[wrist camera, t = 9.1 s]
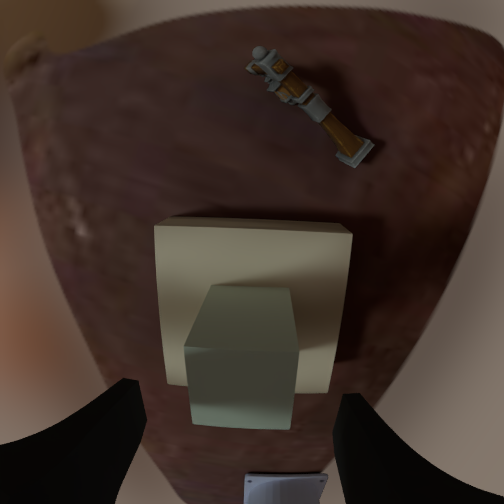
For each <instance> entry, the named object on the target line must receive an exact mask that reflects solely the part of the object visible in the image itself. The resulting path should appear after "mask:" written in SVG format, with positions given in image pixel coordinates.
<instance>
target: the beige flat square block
mask: <svg viewBox="0 0 504 504" xmlns="http://www.w3.org/2000/svg"><path fill="white" fill-rule="evenodd" d="M154 234H155V257H156V275H157V289H158V302H159V313H160V324H161V334H162V343H163V351H164V360H165V367H166V375H167V382H168V384H174V385H181V386H188V383H187V375H186V366H185V357H184V347H183V346H184V344H185V342H186V339H187V337H188V335H189V333H190V330H191V328H192V326H193V324H194V322H195V319H196V317H197V315H198V313H199V311H200V308H201V306H202V304H203V302H204V300H205V297H206V295H207V293H208V291H209V289H210V287H211V285H224V286H251V287H285V288H289V290H290V296H291V302H292V308H293V314H294V320H295V327H296V333H297V339H298V345H299V361H298V369H297V378H296V386H295V393H327V392H328V387H329V383H330V378H331V373H332V368H333V363H334V358H335V353H336V348H337V342H338V337H339V331H340V325H341V319H342V313H343V306H344V300H345V293H346V286H347V278H348V271H349V262H350V254H351V245H352V236H353V234H352V233H351V232H350V231H348V230H347V229H346V228H345V227H344V226H342V225H341V224H340V223H325V222H308V221H288V220H267V219H242V218H213V217H175V216H171V217H169V218H167V219H165V220H164V221H162V222H160V223H158V224H156V225H154Z"/></svg>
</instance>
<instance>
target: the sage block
mask: <svg viewBox="0 0 504 504" xmlns="http://www.w3.org/2000/svg"><path fill="white" fill-rule="evenodd" d="M183 347H184V357H185V366H186V375H187V383H188V392H189V399H190V407H191V414H192V421H193V424H199V425H208V426H219V427H233V428H251V429H290V424H291V417H292V409H293V402H294V394H295V386H296V378H297V369H298V361H299V345H298V339H297V333H296V327H295V320H294V314H293V308H292V302H291V296H290V290H289V288H285V287H251V286H224V285H211V287H210V289H209V291H208V293H207V295H206V297H205V300H204V302H203V304H202V306H201V308H200V311H199V313H198V315H197V317H196V319H195V322H194V324H193V326H192V328H191V330H190V333H189V335H188V337H187V339H186V342H185V344H184V346H183Z"/></svg>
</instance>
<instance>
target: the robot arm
mask: <svg viewBox="0 0 504 504" xmlns="http://www.w3.org/2000/svg"><path fill="white" fill-rule="evenodd" d="M146 422H147V417H146V413H145V409H144V404H143V400H142V395H141V391H140V386H139V381H138V380H132V379H126V378H123V379H121V380H120V381H118V382H117V383H116V384H114V385H113V386H112V387H110V388H109V389H108V390H106V391H105V392H104V393H102V394H101V395H100V396H98V397H97V398H96V399H94V400H93V401H91V402H90V403H89V404H87V405H86V406H84V407H83V408H81V409H80V410H78V411H77V412H75V413H73V414H72V415H70V416H69V417H67V418H66V419H64V420H62V421H61V422H59V423H57V424H55V425H53V426H51V427H49V428H47V429H45V430H43V431H41V432H38V433H36V434H33V435H31V436H28V437H25V438H23V439H20V440H17V441H14V442H10V443H6V444H2V445H0V504H115V501H116V498H117V495H118V492H119V489H120V487H121V484H122V482H123V480H124V478H125V475H126V473H127V471H128V469H129V467H130V464H131V462H132V460H133V458H134V456H135V453H136V451H137V449H138V447H139V444H140V442H141V439H142V436H143V432H144V429H145V425H146ZM332 433H333V443H334V453H335V459H336V463H337V467H338V472H339V476H340V480H341V484H342V488H343V493H344V497H345V502H346V504H504V497H503V496H500V495H496V494H493V493H490V492H487V491H484V490H481V489H478V488H476V487H473V486H471V485H469V484H466V483H464V482H462V481H460V480H458V479H456V478H454V477H452V476H451V475H449V474H447V473H446V472H444V471H442V470H440V469H439V468H437V467H436V466H434V465H433V464H431V463H430V462H429V461H427V460H426V459H425V458H423V457H422V456H420V455H419V454H418V453H417V452H416V451H414V450H413V449H412V448H411V447H410V446H409V445H407V444H406V443H405V442H404V441H403V440H402V439H401V438H400V437H399V436H398V435H397V434H396V433H395V432H394V431H393V430H392V429H391V428H390V427H389V426H388V425H387V424H386V423H385V422H384V420H383V419H382V418H381V417H380V416H379V415H378V414H377V413H376V411H375V410H374V409H373V408H372V407H371V406H370V405H369V403H368V402H367V401H366V400H365V399H364V398H363V396H362V395H361V394H360V393H352V394H343V396H342V400H341V404H340V407H339V411H338V415H337V418H336V422H335V425H334V429H333V432H332ZM327 479H328V475H327V474H325V473H321V474H246V475H245V488H244V504H320V502H319V499H320V497H321V494H322V492H323V489H324V487H325V484H326V482H327Z"/></svg>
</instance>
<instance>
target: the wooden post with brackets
mask: <svg viewBox="0 0 504 504" xmlns="http://www.w3.org/2000/svg"><path fill="white" fill-rule="evenodd" d="M252 54H253V57H254V58H255V59H254V60H253V61H250V62H249V63H248V64H247V66H246V67H245V68H244V69H245V70H247V71H248V72H249V73H250V74H254V75H260V76H262V77H264V76H265V77H266V78H265V81H264V82H268V83H270V85H269V88H268V89H267V91H270V92H274V93H275V94H276V95H277V96H278V97H279V98H280V100H281V101H282V102H285V103H289V104H291V105H295V104H296V103H299V105H298V107H300V108H301V109H303V110H304V111H305V112H306V113H307V114H308V115H309V117H310V118H311V120H313V121H316V122H318V123H319V124H320V125H321V126H322V128H323V129H324V130H325V131H326V133H327V134H328V135H329V137H330V138H331V139H332V141H333V142H334V143H335V145H336V146H337V148H338V150H339V152H338V153H337V154H336V156H337V157H338V158H339V160H340V161H342V162H344V163H346V164H348V165H350V166H352V167H354V168H355V167H356V166H357V165H358V164H359V163H360V162H361V160H362V159H363V158H364V157H365V156H366V155H367V153H368V152H369V151H370V150H371V149H372V147H373V146H374V144H372V143H371V141H370V140H368V139H365V138H362V137H359V136H356V135H354V134H353V133H352V132H351V131H350V130H349V129H347V128H346V127H345V126H344V125H343V124H342V123H341V122H340V121H338V120H337V119H336V118H335V117H334V115H333V114H332V113H331V112H330V111H331V110H332V109H331V108H329V107H328V106H327V105H326V104H325V103H324V102H323V100H322V99H321V98H320V96H319V95H318V94H315V93H312V92H313V91H314V89H312V87H311V86H306V85H305V84H304V83H303V82H302V81H301V80H300V79H299V78H298V77H297V76H296V75H295V74H294V73H293V72H292V71H291V70H292V69H293V67H292V66H290V65H289V64H288V63H287V62H286V61H285V60H284V59H283V58H282V57H281V56H280V55H279V54H278V53H277V51H276V50H275V49H273V50H267V49H266V48H264V47H262V46H258V47H256V48H254V50H253V52H252ZM260 73H264V75H261V74H260ZM266 75H267V76H266Z"/></svg>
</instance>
